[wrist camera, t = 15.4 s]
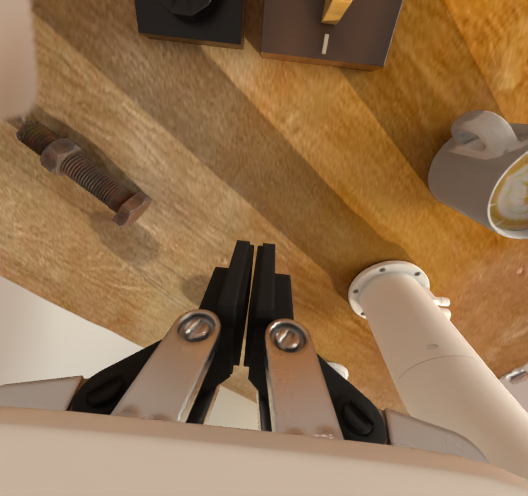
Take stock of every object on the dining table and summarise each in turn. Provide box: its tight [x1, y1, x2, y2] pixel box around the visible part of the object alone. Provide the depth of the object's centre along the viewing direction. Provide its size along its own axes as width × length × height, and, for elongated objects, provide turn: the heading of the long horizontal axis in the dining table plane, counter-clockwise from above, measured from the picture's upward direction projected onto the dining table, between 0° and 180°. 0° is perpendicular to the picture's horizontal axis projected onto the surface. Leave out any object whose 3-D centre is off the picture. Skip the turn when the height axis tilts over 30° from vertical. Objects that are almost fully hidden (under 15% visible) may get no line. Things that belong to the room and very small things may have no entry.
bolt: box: [17, 121, 151, 228], centre depth 30 cm, size 6×5×15 cm
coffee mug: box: [428, 110, 528, 239], centre depth 24 cm, size 13×10×10 cm
